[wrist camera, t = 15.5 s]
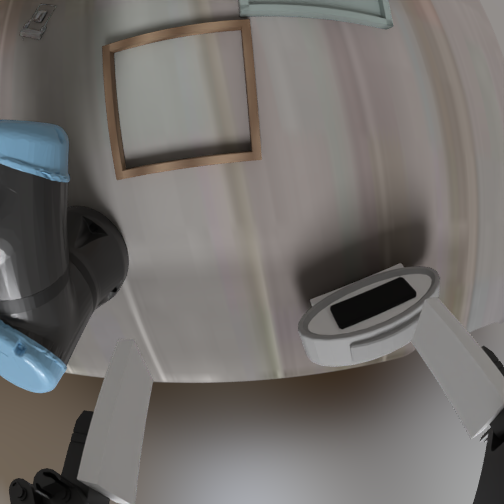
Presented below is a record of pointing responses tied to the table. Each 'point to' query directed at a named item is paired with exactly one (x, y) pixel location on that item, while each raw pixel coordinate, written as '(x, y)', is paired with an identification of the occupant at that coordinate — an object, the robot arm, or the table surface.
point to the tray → (323, 10)
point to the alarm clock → (367, 316)
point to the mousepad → (37, 18)
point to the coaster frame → (188, 162)
